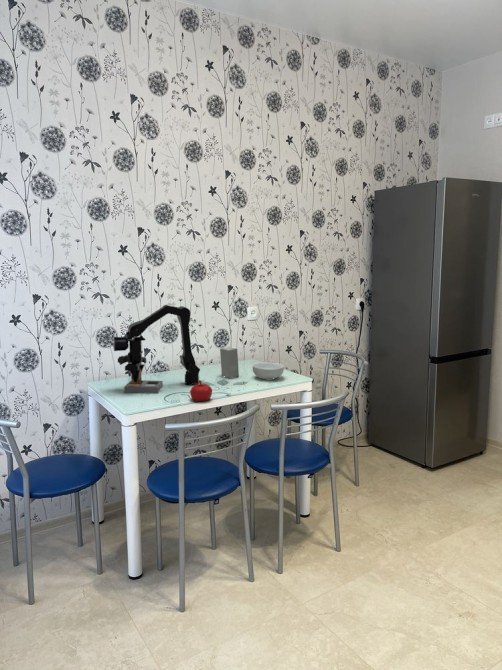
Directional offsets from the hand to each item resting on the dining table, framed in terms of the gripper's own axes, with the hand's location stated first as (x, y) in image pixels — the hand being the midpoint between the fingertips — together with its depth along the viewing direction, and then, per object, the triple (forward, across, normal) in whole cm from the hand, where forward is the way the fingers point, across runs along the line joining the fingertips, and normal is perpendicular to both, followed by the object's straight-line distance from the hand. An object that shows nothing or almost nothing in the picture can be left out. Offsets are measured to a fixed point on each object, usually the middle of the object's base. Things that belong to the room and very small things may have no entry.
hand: (136, 380), depth 248 cm
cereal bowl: (+4, -24, +65) cm, 70 cm away
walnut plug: (+2, 0, 0) cm, 2 cm away
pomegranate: (+4, +16, +34) cm, 38 cm away
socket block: (+4, +2, +4) cm, 6 cm away
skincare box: (+4, -26, +44) cm, 51 cm away
